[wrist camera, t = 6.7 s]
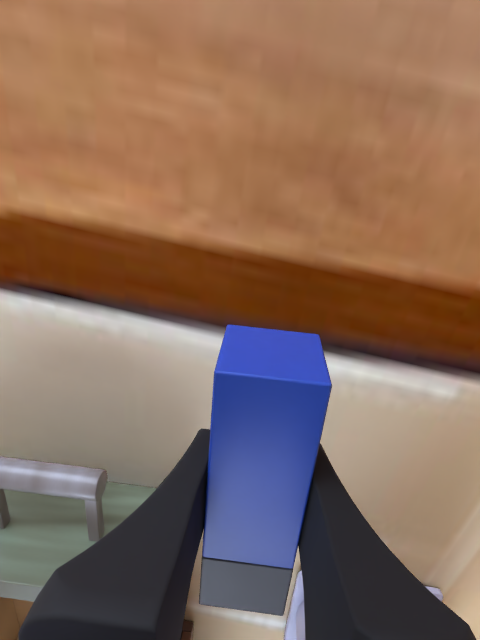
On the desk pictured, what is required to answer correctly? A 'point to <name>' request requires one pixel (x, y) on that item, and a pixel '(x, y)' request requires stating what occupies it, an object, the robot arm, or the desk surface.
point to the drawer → (51, 525)
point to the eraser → (260, 464)
